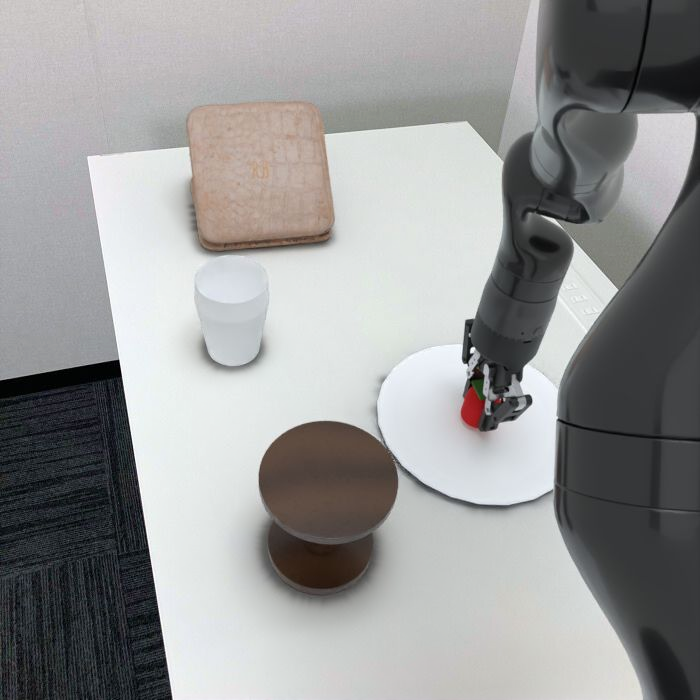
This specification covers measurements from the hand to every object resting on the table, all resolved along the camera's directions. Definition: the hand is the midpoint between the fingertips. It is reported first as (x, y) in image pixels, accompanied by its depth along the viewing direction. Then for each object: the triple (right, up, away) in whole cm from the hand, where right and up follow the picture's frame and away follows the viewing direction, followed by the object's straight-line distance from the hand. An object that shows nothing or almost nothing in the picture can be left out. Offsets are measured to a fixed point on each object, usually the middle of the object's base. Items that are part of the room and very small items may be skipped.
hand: (478, 412), depth 90 cm
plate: (0, -1, +1) cm, 2 cm away
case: (-30, +30, +27) cm, 50 cm away
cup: (-31, +8, +6) cm, 33 cm away
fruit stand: (-19, -13, -12) cm, 26 cm away
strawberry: (0, 0, 0) cm, 0 cm away
